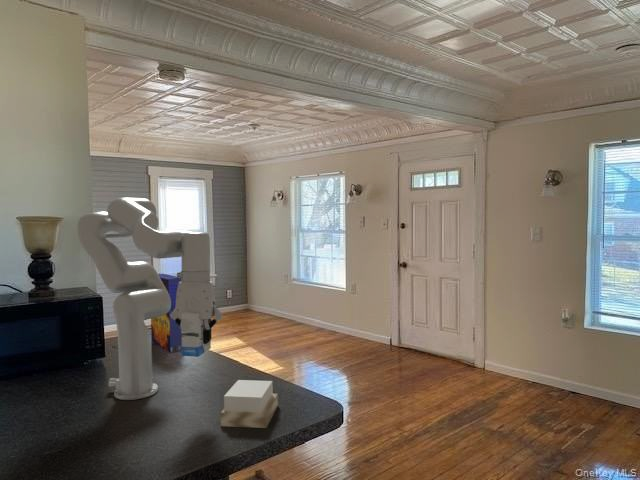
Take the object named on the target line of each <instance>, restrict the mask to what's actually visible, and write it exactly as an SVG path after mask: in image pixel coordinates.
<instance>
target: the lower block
mask: <svg viewBox="0 0 640 480" xmlns="http://www.w3.org/2000/svg"><path fill="white" fill-rule="evenodd" d="M278 395H279V393H273V395H272V397H271V399H270V400H269V402H268V404H267V405H266V407H265V409H264V410H263V412H262V413H253V412H231V411H224V408H223V409H222V410H221V411H220V426H221V427H230V428H231V427H234V428H235V427H236V428H259V429H260V428H261V429H267V428H268V426H269V423H270V422H271V420H272V418H273V416H274V414H275V412H276V410H277V408H278V406H279V397H278Z"/></svg>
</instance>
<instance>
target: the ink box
mask: <svg viewBox="0 0 640 480" xmlns="http://www.w3.org/2000/svg"><path fill="white" fill-rule="evenodd" d="M204 330H205V325H204V322H203V320H200V313H191V312H182V313H181V332H182V351H181V356H182V357H193V358H195V357H197V358H198V357H200V356H201V355H203V354H205V353H206V352H208V351H210V349H211V347H212V344H211V343H212V339H211V340H210V342H209V343H207V344H204V337H203V331H204Z"/></svg>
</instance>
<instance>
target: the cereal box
mask: <svg viewBox="0 0 640 480" xmlns="http://www.w3.org/2000/svg"><path fill="white" fill-rule="evenodd" d="M158 275H159V277H160V279H161V281H162V282H163V284H164V286H165V288H166V290H167V291H168V293H169V296H170V299H171V307H170V310H169V312H168V313H167V314H165V315H163V316H160V317H156V318H151V319H150V327H151V328H150V333H151V344H154V345H156V346H157V347H159V348H161V349H162V350H163V351H166V352H168V353H170V354H172V353H177V352H182V332H181V328H180V326H179V325H178V324H177V323H176V322H175V320H173V319H172V318H171V317H170V314H171V313H172V311H173V310H174V309H175V307H176V295H177V288H178V283H179V282H182V280H181V278H180V277H177V276H175V275H170V274H166V273H158Z"/></svg>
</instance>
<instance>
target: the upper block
mask: <svg viewBox="0 0 640 480" xmlns="http://www.w3.org/2000/svg"><path fill="white" fill-rule="evenodd" d="M273 387H274V386H273V380H255V379H254V380H252V379H251V380H250V379H249V380H247V379H238V380H237V381H236V382H235V383H234V384H233V385H232V386H231V388H229V390H228V391H226V393H225V394H224V396H223V409H224V411H231V412H253V413H262V412H263V410H264V409H265V407H266V405H267V404H268V402H269V400H270V399H271V397H272V395H273V394H274V391H273V389H274V388H273Z"/></svg>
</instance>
